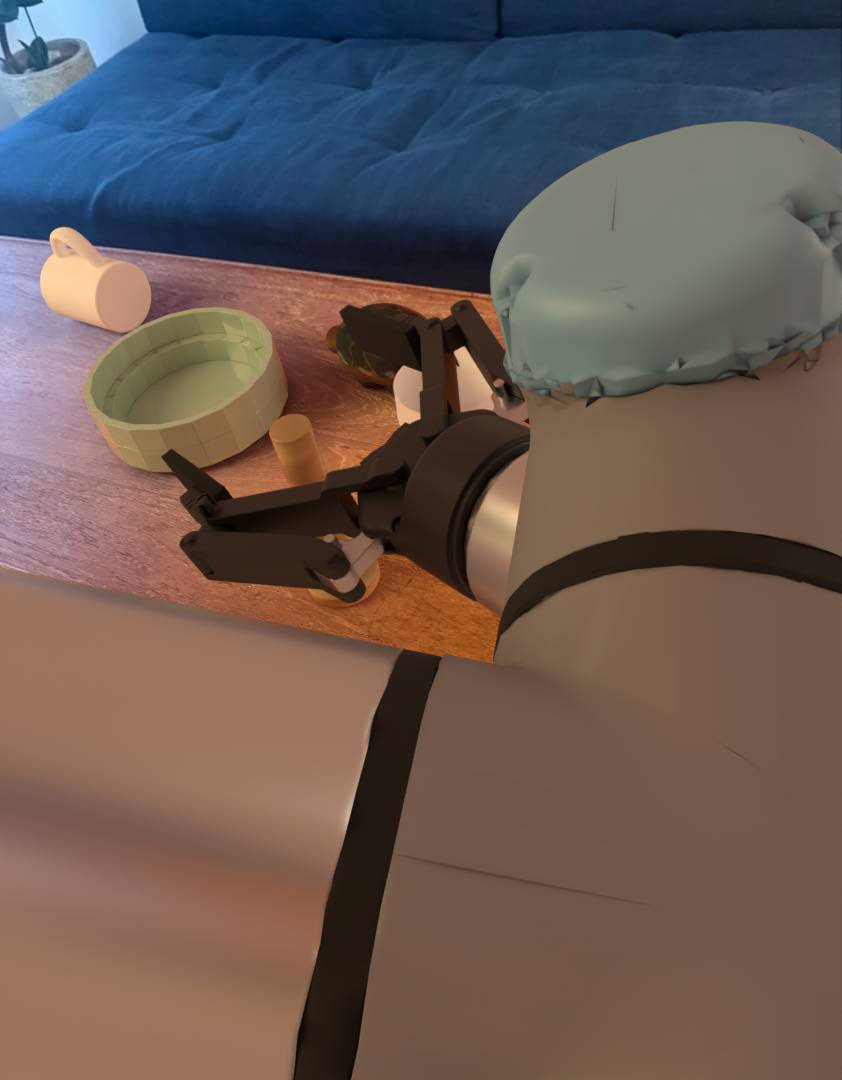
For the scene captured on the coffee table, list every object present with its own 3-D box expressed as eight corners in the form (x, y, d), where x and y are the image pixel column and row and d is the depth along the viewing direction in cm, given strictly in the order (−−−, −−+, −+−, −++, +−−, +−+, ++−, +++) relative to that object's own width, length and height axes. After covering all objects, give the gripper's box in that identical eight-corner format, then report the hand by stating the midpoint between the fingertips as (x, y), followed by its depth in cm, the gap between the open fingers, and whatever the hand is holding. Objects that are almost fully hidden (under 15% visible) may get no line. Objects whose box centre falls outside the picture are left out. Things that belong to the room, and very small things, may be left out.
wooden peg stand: (309, 615, 68) (245, 468, 55) (304, 558, 72) (244, 408, 59) (385, 598, 68) (338, 447, 55) (375, 542, 72) (330, 389, 59)
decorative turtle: (439, 417, 82) (420, 354, 76) (316, 396, 88) (290, 336, 82) (478, 355, 86) (464, 290, 80) (359, 340, 93) (337, 279, 87)
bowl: (103, 496, 81) (72, 448, 77) (119, 378, 94) (94, 330, 90) (295, 453, 81) (276, 402, 76) (284, 340, 94) (268, 291, 89)
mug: (115, 346, 99) (68, 256, 90) (60, 329, 103) (10, 242, 94) (161, 308, 103) (121, 219, 94) (106, 293, 107) (63, 206, 98)
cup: (403, 515, 74) (378, 413, 65) (426, 446, 79) (406, 343, 70) (501, 523, 71) (490, 419, 62) (518, 451, 77) (510, 346, 68)
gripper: (343, 794, 33) (139, 578, 47) (718, 406, 39) (437, 322, 54) (250, 697, 28) (53, 489, 42) (698, 270, 34) (394, 218, 49)
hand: (268, 395), depth 48 cm, fingers open, 13 cm apart
